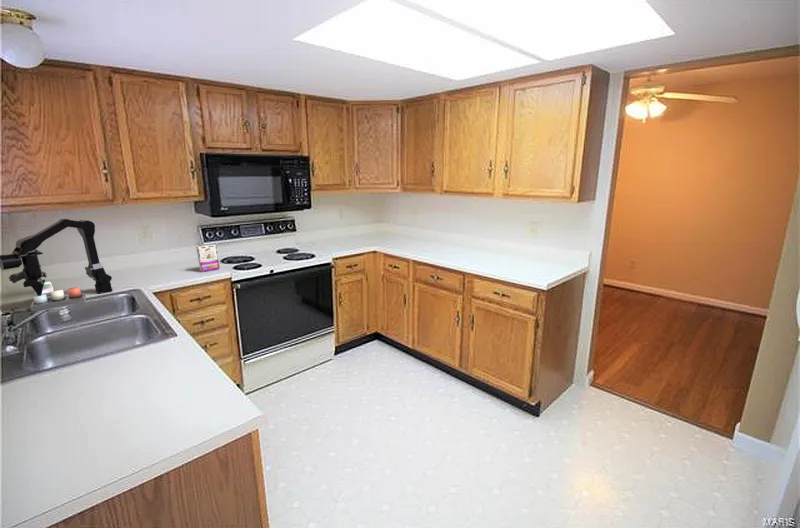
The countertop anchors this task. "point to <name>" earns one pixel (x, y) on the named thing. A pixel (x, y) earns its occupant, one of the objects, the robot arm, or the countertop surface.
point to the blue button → (40, 299)
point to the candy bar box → (208, 258)
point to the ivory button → (57, 295)
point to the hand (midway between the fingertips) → (39, 295)
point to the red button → (74, 292)
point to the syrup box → (47, 289)
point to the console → (58, 302)
